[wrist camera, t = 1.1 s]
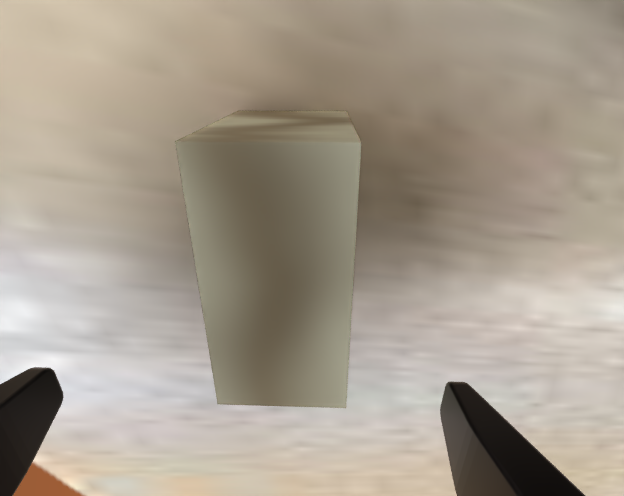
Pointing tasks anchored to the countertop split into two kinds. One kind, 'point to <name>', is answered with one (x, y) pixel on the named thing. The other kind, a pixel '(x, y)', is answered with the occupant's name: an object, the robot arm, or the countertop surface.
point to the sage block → (275, 252)
